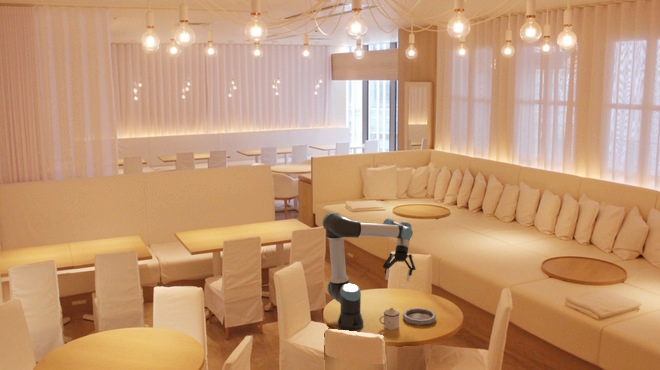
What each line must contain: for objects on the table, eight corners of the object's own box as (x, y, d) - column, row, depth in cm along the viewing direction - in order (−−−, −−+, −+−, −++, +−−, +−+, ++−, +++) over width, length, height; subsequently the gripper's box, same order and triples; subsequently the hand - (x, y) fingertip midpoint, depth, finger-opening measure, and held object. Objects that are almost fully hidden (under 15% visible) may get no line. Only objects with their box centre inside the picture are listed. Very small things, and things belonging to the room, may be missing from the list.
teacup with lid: (395, 322, 378) (395, 304, 376) (401, 328, 370) (402, 310, 367) (376, 325, 375) (376, 306, 373) (382, 331, 366) (382, 312, 364)
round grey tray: (399, 323, 378) (399, 318, 377) (407, 311, 395) (407, 306, 395) (431, 327, 371) (432, 322, 370) (438, 315, 389) (438, 310, 388)
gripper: (423, 249, 390) (418, 283, 381) (385, 248, 401) (379, 280, 392) (420, 245, 384) (415, 279, 375) (381, 244, 395) (375, 276, 386)
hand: (397, 280), depth 383 cm, fingers open, 13 cm apart
